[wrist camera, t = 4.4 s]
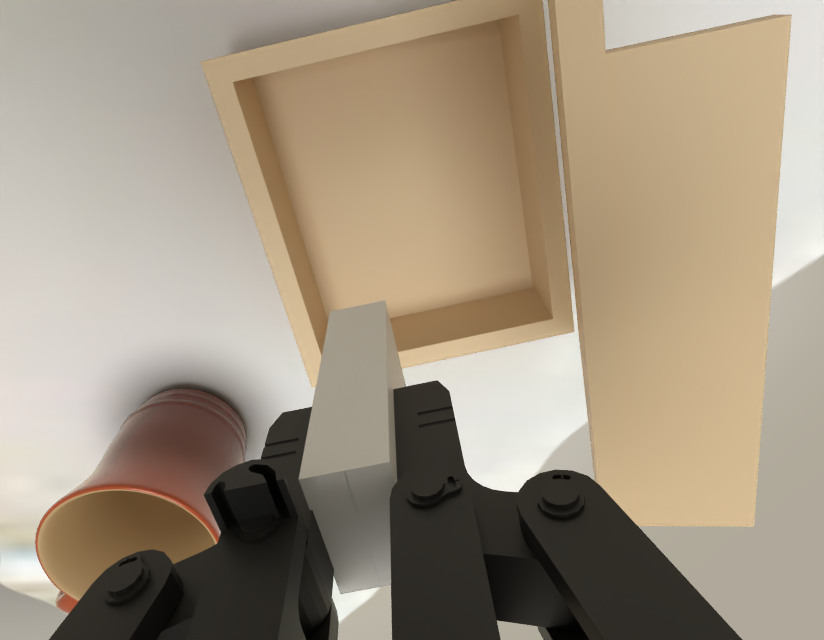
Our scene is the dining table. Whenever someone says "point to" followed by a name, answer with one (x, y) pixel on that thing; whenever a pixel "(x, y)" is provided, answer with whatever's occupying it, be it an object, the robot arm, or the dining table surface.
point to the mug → (143, 492)
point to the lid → (673, 254)
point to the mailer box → (407, 176)
